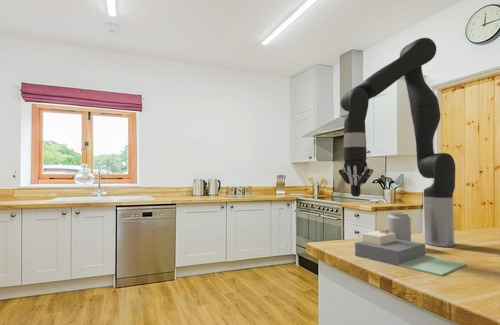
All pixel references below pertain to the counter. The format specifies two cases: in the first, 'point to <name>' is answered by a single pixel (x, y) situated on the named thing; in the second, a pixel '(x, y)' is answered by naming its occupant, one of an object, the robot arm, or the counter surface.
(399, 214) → the can
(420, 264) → the mat
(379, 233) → the cream rectangular slab
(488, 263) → the counter surface
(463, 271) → the counter surface
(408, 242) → the block
